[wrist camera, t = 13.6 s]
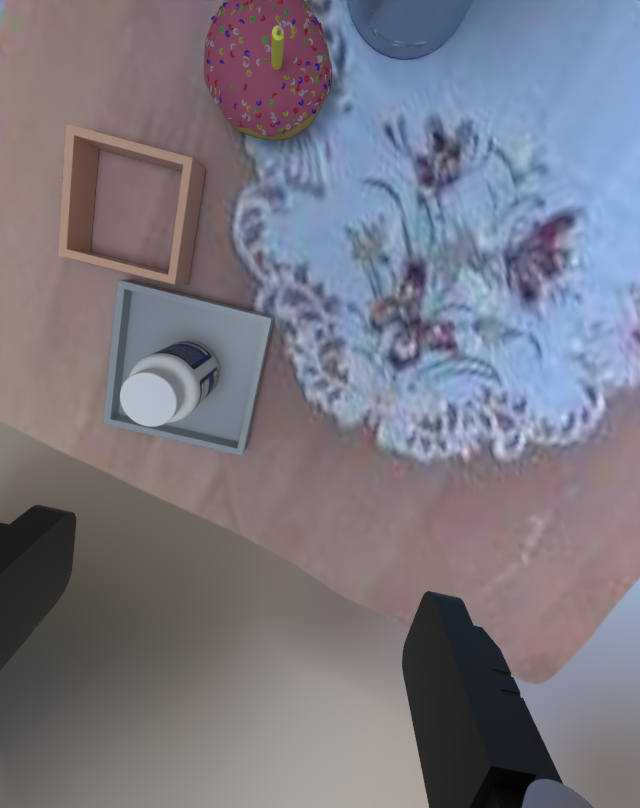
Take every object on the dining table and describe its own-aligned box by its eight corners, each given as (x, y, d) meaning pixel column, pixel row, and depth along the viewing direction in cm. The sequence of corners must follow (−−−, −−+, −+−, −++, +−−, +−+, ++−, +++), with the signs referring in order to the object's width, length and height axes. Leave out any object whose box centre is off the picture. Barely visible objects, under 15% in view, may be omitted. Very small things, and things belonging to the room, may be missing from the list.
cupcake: (352, 85, 32) (367, -22, 21) (286, 181, 34) (266, 133, 23) (262, -1, 31) (225, -166, 19) (198, 105, 33) (130, 12, 21)
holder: (92, 139, 34) (66, 123, 30) (205, 169, 34) (192, 157, 31) (83, 257, 36) (58, 255, 33) (188, 283, 37) (174, 284, 33)
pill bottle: (150, 353, 38) (93, 379, 29) (203, 330, 37) (162, 349, 28) (179, 406, 39) (133, 447, 30) (230, 385, 39) (200, 419, 29)
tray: (129, 279, 37) (117, 279, 35) (274, 316, 37) (271, 318, 35) (114, 416, 40) (103, 423, 38) (246, 447, 41) (242, 455, 39)
